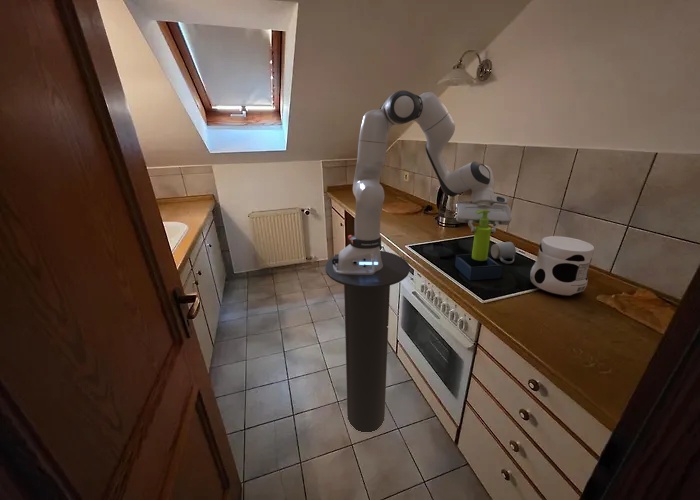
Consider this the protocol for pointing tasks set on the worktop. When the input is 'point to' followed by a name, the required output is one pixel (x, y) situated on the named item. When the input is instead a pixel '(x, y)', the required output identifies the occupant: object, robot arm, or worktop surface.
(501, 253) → the ceramic mug
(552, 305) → the worktop surface
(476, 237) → the soap dispenser
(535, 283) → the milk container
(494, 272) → the blue open box
